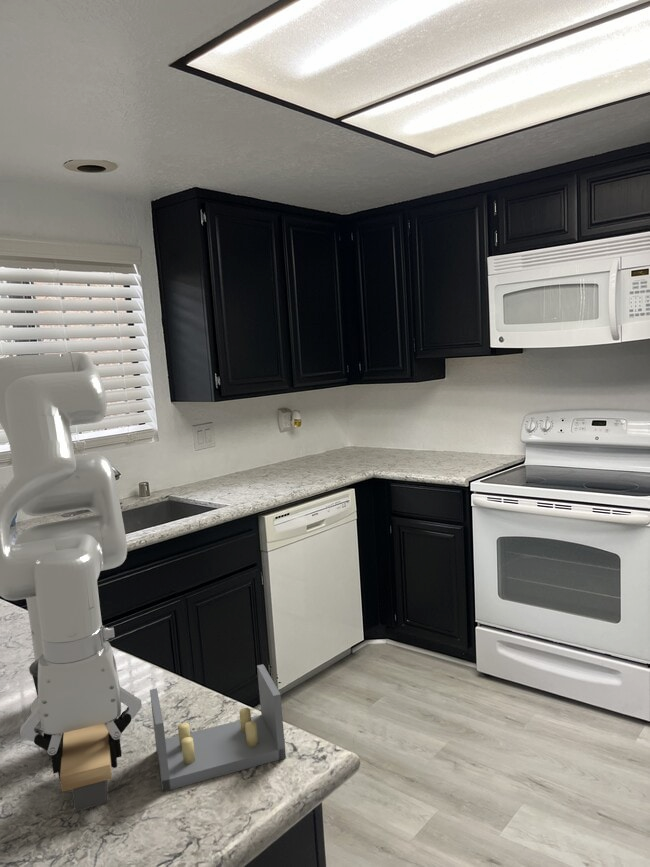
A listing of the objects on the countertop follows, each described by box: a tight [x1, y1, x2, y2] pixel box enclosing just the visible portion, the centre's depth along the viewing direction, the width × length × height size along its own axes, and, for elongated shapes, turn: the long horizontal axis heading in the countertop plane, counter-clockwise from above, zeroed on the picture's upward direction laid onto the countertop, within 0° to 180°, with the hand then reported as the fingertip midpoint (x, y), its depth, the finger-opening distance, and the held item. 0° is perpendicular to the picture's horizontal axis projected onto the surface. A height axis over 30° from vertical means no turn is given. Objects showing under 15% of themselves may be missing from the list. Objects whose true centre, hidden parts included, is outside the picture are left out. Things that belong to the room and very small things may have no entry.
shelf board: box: [59, 724, 113, 792], centre depth 88 cm, size 12×6×2 cm, turn 19°
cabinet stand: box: [149, 663, 287, 793], centre depth 93 cm, size 10×17×10 cm, turn 109°
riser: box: [71, 780, 108, 812], centre depth 88 cm, size 8×4×3 cm, turn 19°
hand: (88, 767), depth 89 cm, fingers closed on shelf board, 6 cm apart
